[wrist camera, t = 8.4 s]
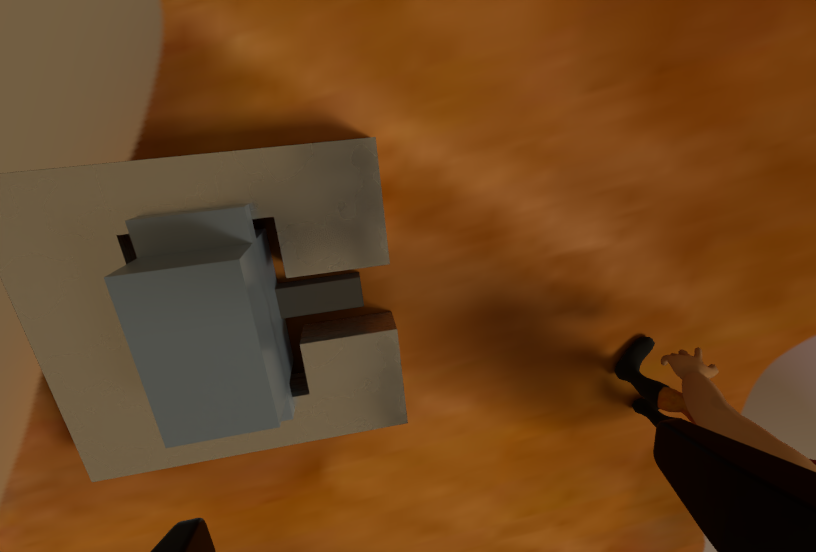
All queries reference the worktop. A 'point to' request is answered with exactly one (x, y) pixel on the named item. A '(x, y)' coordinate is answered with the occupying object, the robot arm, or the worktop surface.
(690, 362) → the action figure
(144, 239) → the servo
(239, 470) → the worktop surface
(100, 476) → the plate
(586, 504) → the worktop surface
